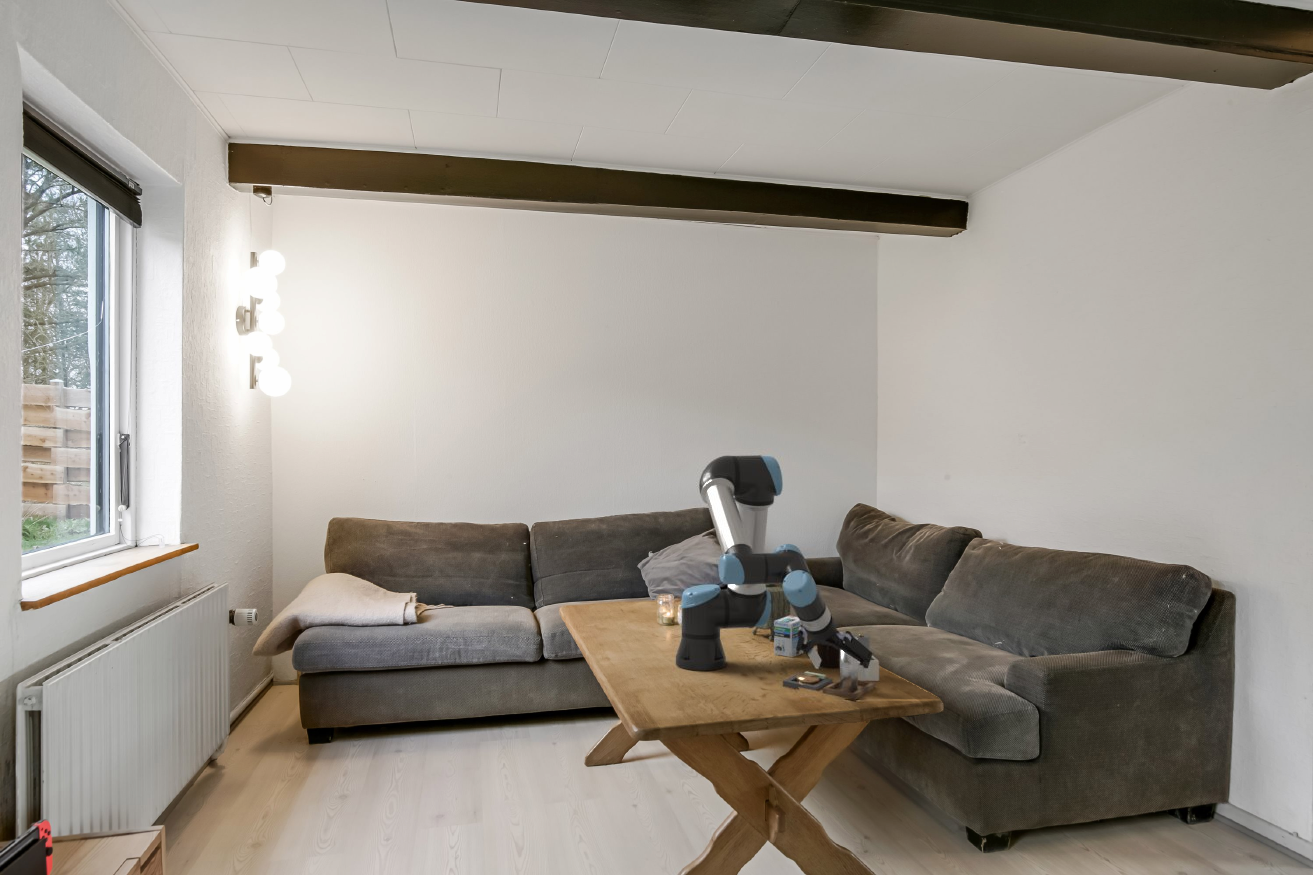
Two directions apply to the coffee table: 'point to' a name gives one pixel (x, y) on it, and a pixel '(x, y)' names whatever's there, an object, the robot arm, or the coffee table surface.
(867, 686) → the brown wooden tray
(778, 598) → the tabletop clock
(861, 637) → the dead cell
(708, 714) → the coffee table surface
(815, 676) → the brown flat disc
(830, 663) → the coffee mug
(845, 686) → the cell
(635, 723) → the coffee table surface
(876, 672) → the white square box
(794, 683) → the base
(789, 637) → the light bulb box
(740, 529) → the robot arm
